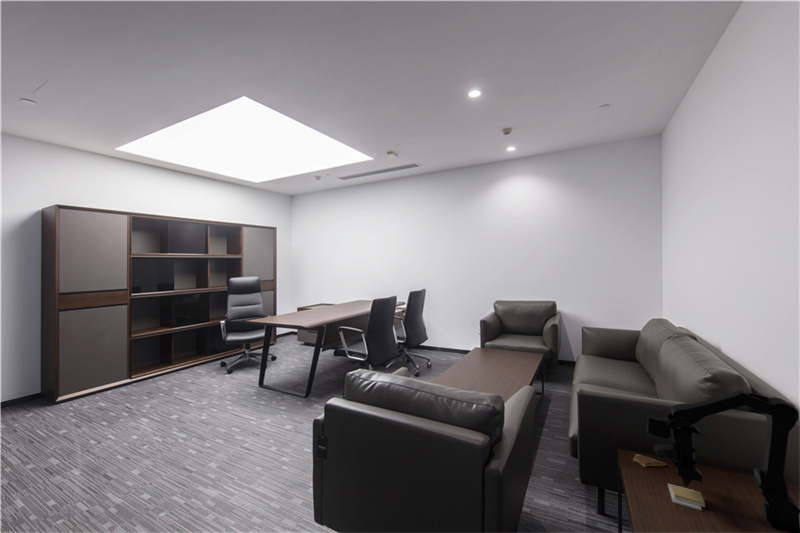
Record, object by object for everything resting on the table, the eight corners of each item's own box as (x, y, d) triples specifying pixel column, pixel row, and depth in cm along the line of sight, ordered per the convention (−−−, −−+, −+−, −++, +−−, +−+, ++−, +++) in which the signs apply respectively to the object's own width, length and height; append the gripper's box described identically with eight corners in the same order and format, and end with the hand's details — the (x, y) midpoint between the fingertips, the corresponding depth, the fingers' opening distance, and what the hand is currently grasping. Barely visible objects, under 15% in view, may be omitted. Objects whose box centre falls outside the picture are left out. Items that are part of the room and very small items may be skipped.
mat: (694, 491, 117) (693, 490, 117) (701, 510, 108) (701, 509, 108) (667, 485, 121) (667, 483, 121) (673, 502, 112) (673, 501, 112)
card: (700, 492, 114) (704, 502, 108) (700, 496, 113) (705, 507, 108) (671, 484, 118) (674, 494, 113) (671, 489, 118) (674, 498, 113)
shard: (667, 466, 133) (667, 462, 133) (665, 475, 128) (665, 470, 128) (636, 456, 141) (636, 452, 141) (632, 464, 135) (632, 459, 136)
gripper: (652, 426, 127) (653, 465, 127) (658, 447, 112) (660, 492, 111) (688, 433, 121) (690, 474, 121) (701, 457, 106) (703, 504, 105)
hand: (685, 485), depth 115 cm, fingers closed
